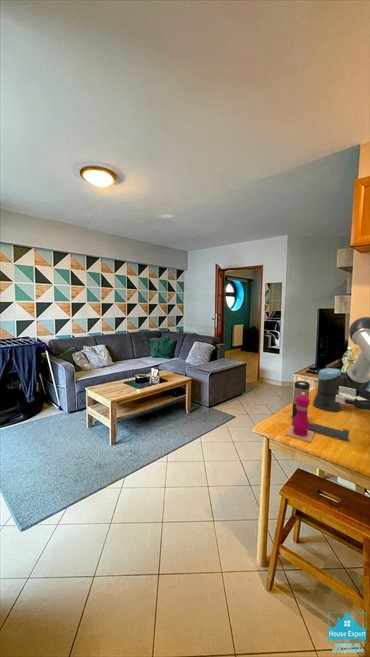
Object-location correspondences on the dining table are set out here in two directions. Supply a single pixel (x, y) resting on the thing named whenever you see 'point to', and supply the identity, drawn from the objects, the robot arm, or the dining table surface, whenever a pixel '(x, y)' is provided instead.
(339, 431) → the handrail
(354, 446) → the dining table surface
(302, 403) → the pepper mill
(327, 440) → the dining table surface
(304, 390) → the travel mug
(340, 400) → the robot arm
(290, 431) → the end tile
